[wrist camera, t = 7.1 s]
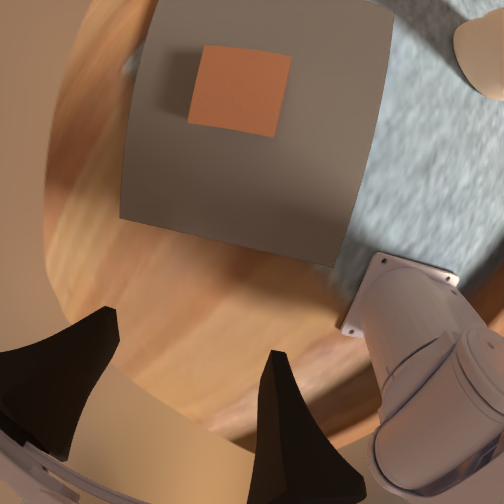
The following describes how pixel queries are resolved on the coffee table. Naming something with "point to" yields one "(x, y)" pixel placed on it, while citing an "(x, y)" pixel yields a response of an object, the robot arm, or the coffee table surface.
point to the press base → (253, 145)
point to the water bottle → (483, 53)
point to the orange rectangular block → (240, 89)
